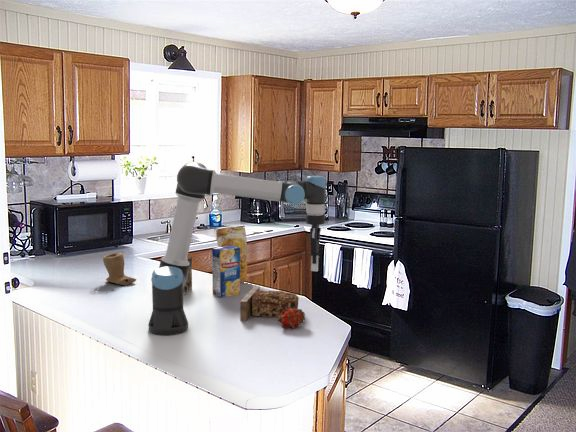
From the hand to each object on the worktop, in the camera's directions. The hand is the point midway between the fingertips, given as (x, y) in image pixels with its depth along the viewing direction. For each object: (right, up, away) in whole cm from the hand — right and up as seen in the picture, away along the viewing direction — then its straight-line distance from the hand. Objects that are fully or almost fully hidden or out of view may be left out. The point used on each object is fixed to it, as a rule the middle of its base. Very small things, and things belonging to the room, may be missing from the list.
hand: (314, 270), depth 254 cm
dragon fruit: (-10, -21, -12) cm, 26 cm away
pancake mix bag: (-39, -11, +57) cm, 70 cm away
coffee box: (-61, -14, +38) cm, 73 cm away
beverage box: (-40, -14, +35) cm, 55 cm away
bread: (-16, -19, +5) cm, 26 cm away
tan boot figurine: (-95, -11, +53) cm, 110 cm away
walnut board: (-27, -18, +8) cm, 33 cm away
